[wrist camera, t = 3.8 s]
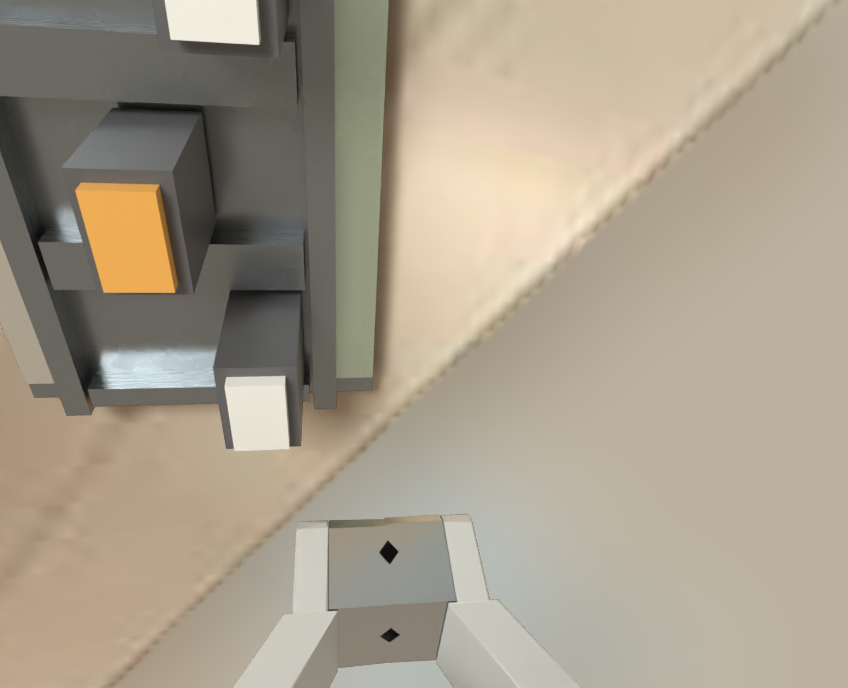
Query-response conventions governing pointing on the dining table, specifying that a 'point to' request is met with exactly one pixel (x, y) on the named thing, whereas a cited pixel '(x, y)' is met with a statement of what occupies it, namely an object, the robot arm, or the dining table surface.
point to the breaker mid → (143, 201)
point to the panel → (231, 186)
